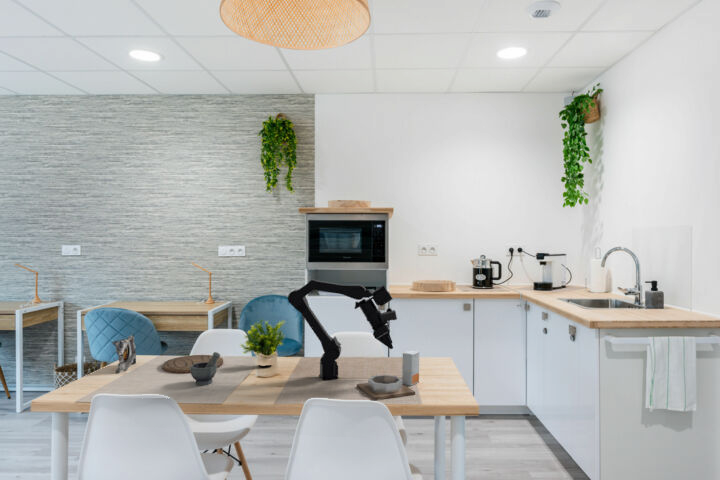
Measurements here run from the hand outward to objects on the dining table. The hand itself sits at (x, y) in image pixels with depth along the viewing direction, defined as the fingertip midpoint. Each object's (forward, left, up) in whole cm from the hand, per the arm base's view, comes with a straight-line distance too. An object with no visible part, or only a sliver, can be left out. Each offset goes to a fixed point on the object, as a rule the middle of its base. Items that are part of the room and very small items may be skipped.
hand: (391, 345), depth 181 cm
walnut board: (-9, -12, -13) cm, 20 cm away
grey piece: (-99, +56, -13) cm, 115 cm away
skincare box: (+4, -8, -13) cm, 16 cm away
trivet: (-72, +51, -14) cm, 89 cm away
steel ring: (-9, -12, -13) cm, 20 cm away
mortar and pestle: (-69, +22, -13) cm, 74 cm away
